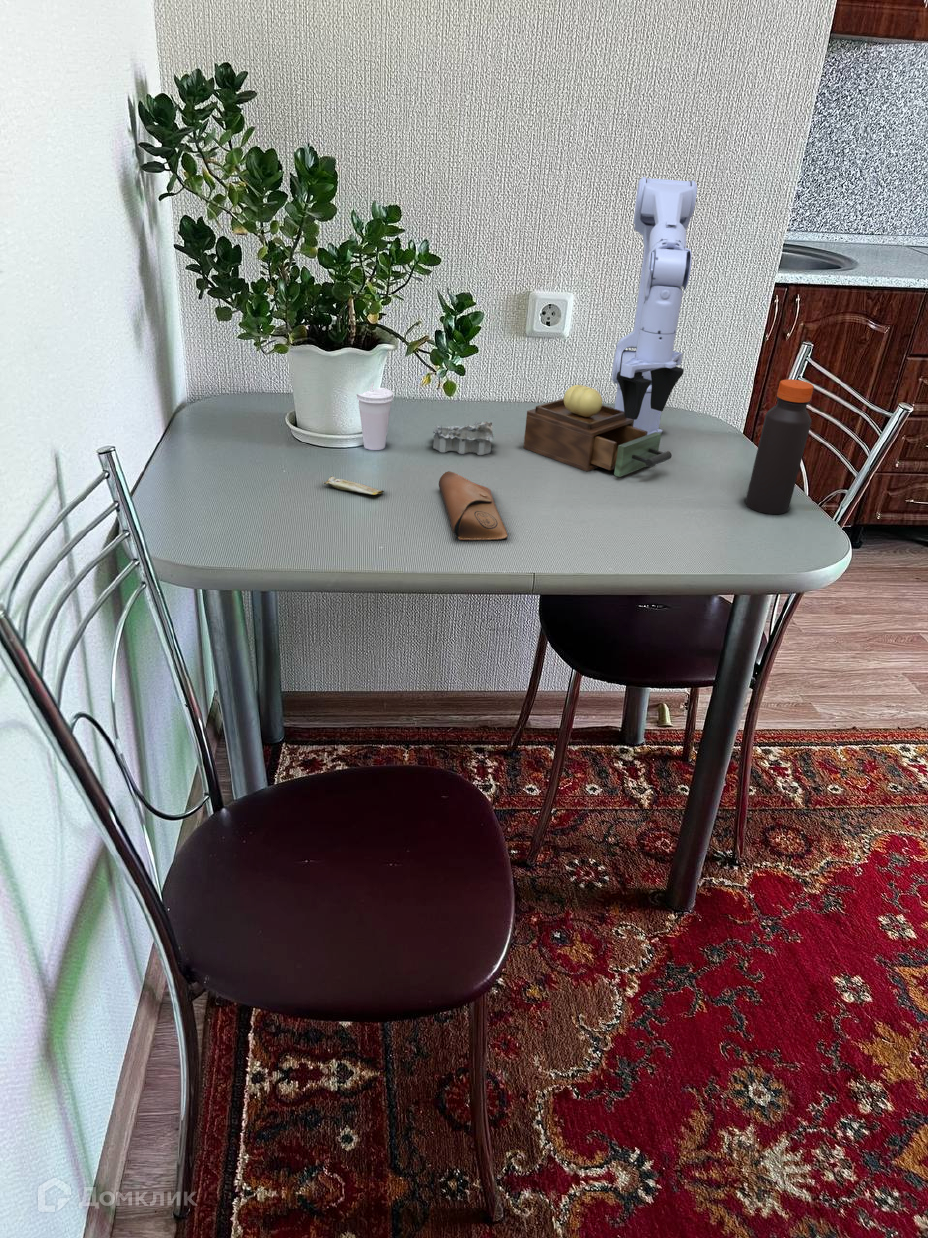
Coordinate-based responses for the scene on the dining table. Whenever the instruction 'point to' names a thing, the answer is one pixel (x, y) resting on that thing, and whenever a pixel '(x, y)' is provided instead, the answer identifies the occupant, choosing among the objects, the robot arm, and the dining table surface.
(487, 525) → the sunglasses case
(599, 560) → the dining table surface
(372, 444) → the smoothie
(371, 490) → the snack bar
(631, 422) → the cabinet
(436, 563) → the dining table surface
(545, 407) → the brown wooden tray
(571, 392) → the pale yellow lobed ovoid
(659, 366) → the robot arm
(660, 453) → the drawer
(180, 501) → the dining table surface
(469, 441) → the egg carton
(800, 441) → the bottle
